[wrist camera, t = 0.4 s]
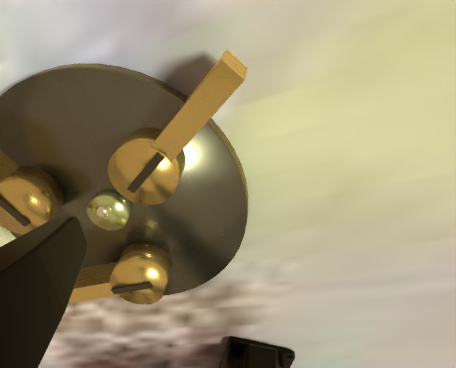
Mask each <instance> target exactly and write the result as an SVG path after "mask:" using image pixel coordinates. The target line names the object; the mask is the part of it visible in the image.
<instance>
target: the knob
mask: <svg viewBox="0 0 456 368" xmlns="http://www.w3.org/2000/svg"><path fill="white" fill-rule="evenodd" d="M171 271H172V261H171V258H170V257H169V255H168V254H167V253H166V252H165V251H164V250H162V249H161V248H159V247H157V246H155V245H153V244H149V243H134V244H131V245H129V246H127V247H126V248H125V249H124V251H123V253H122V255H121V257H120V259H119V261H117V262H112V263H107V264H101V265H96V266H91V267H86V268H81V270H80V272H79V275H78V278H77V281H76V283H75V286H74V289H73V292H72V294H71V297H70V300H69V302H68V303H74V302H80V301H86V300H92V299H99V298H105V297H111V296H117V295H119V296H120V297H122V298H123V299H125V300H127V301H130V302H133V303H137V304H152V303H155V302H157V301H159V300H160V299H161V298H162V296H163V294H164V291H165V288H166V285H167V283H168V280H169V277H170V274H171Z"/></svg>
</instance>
